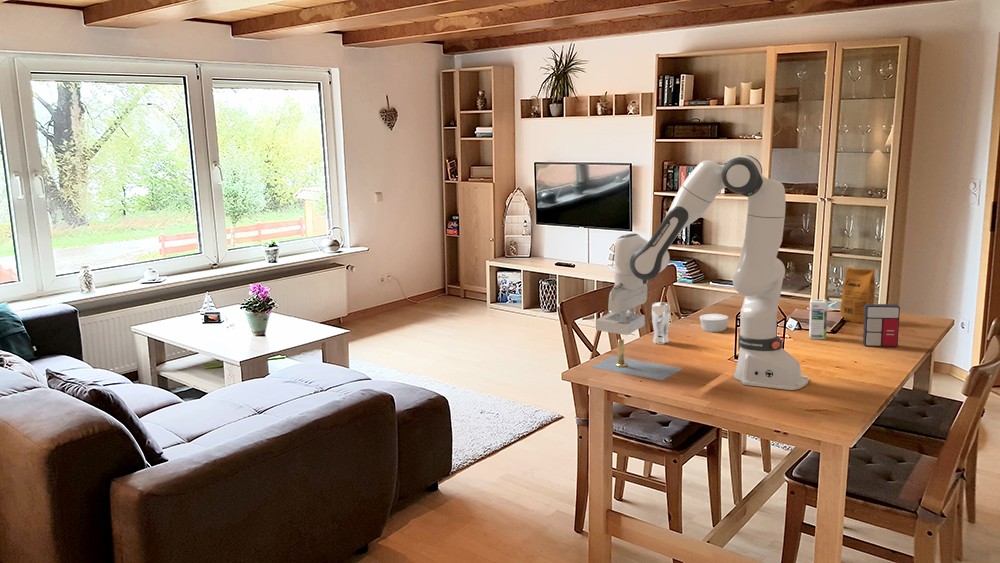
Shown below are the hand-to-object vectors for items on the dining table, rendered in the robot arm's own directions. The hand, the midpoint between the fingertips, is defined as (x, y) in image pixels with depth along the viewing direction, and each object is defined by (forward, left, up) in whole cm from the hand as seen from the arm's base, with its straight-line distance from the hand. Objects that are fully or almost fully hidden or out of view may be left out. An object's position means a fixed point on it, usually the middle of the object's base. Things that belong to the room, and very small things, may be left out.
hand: (627, 321), depth 260 cm
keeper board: (-6, +4, -16) cm, 18 cm away
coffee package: (-47, -103, -16) cm, 115 cm away
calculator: (-64, -69, -16) cm, 96 cm away
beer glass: (+5, -33, -16) cm, 37 cm away
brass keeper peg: (0, +5, -15) cm, 15 cm away
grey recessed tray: (0, +5, -1) cm, 5 cm away
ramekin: (-4, -61, -16) cm, 63 cm away
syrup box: (-42, -69, -16) cm, 83 cm away
